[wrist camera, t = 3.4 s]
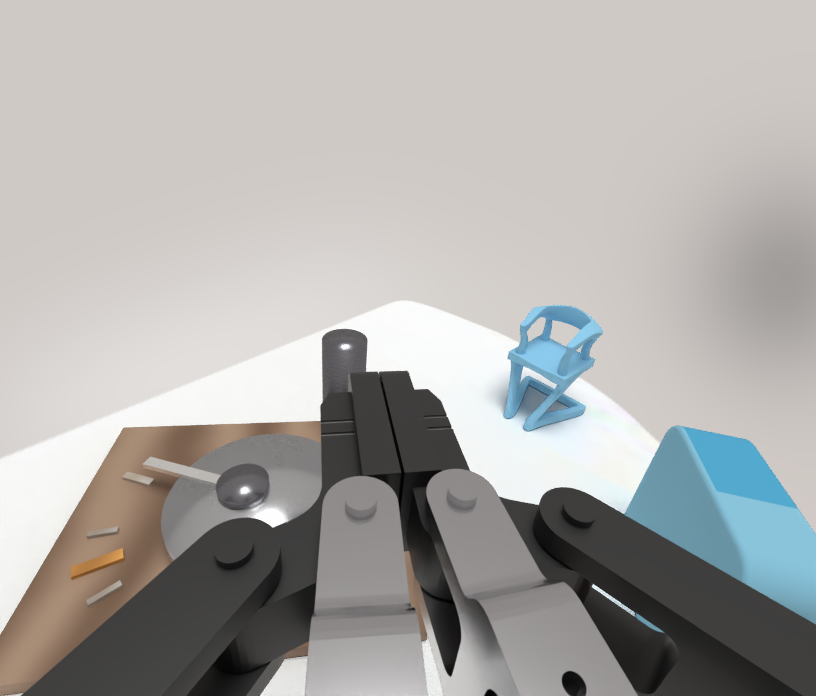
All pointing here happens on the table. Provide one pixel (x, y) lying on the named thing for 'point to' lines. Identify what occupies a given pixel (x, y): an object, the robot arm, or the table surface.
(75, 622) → the base plate
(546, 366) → the chair
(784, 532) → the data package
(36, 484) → the table surface
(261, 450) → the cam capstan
